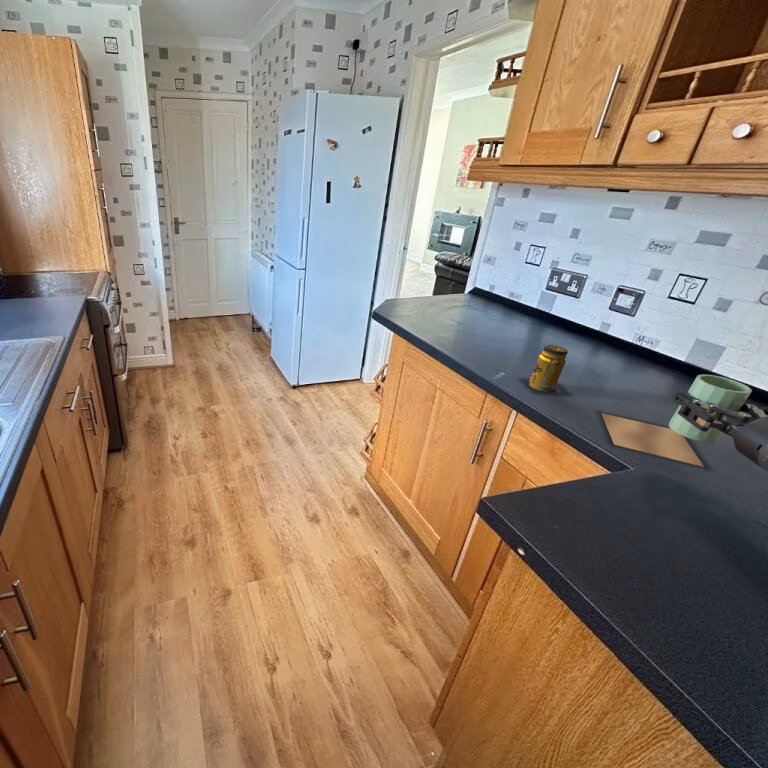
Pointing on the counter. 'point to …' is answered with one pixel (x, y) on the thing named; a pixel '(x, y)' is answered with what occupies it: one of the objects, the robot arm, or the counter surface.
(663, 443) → the mat
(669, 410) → the counter surface
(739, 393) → the cup
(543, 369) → the condiment
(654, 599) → the counter surface
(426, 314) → the counter surface
